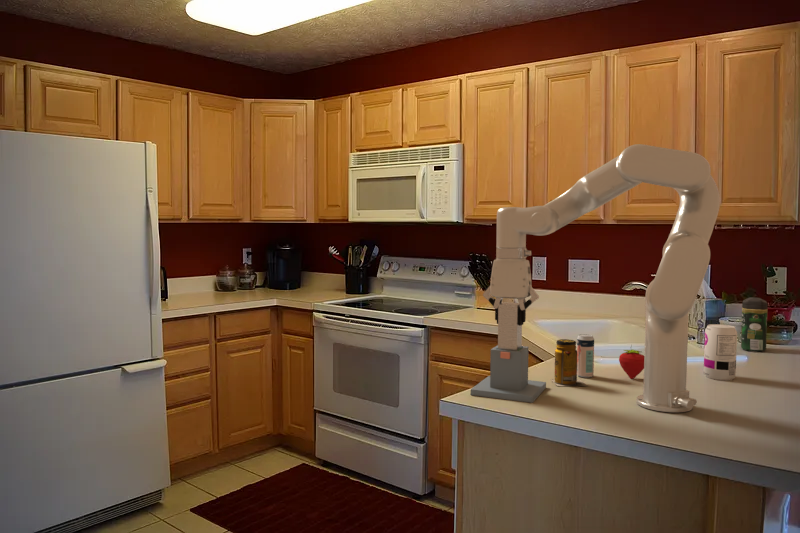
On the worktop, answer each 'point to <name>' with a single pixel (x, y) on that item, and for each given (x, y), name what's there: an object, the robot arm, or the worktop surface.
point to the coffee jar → (754, 324)
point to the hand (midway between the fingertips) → (510, 323)
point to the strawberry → (632, 362)
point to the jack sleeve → (509, 377)
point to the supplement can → (720, 352)
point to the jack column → (509, 327)
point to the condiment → (566, 364)
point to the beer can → (585, 355)
